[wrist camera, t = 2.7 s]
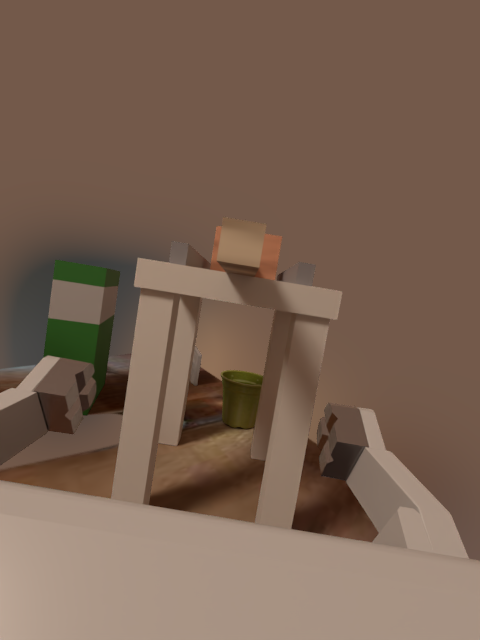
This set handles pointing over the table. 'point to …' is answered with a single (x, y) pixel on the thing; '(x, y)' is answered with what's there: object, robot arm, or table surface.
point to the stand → (176, 363)
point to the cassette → (195, 367)
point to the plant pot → (240, 398)
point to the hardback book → (82, 316)
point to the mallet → (245, 249)
